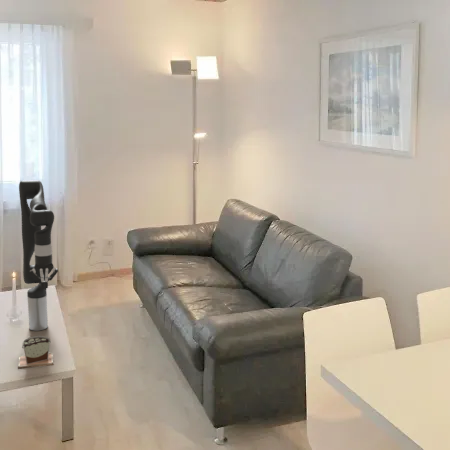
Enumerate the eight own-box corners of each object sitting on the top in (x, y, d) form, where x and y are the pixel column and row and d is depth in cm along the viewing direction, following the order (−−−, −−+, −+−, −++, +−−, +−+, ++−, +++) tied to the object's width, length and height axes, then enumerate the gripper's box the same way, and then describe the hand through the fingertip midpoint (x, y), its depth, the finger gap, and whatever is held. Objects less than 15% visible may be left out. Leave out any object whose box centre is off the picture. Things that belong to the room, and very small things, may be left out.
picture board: (18, 357, 264) (18, 355, 263) (52, 354, 268) (52, 352, 268) (18, 368, 253) (18, 367, 253) (53, 364, 258) (53, 363, 258)
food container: (46, 353, 267) (46, 333, 264) (51, 358, 262) (50, 338, 260) (19, 359, 260) (18, 339, 258) (23, 365, 255) (22, 344, 253)
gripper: (27, 256, 259) (29, 292, 263) (58, 254, 263) (59, 290, 267) (28, 251, 266) (29, 287, 270) (58, 250, 270) (59, 285, 274)
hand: (44, 289), depth 268 cm, fingers closed
